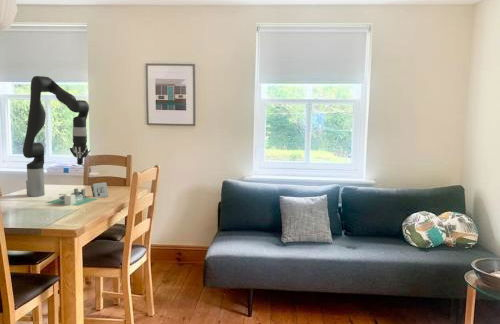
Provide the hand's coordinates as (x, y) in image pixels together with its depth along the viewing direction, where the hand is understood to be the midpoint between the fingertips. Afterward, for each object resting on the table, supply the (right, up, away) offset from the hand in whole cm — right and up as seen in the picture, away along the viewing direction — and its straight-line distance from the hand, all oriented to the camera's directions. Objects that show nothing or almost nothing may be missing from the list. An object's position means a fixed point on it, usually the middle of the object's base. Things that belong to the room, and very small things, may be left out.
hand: (80, 164), depth 234 cm
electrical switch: (+5, -21, +17) cm, 28 cm away
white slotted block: (-5, -21, 0) cm, 22 cm away
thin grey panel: (-5, -18, -1) cm, 19 cm away
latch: (-4, -22, -7) cm, 24 cm away
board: (-5, -22, +1) cm, 23 cm away
